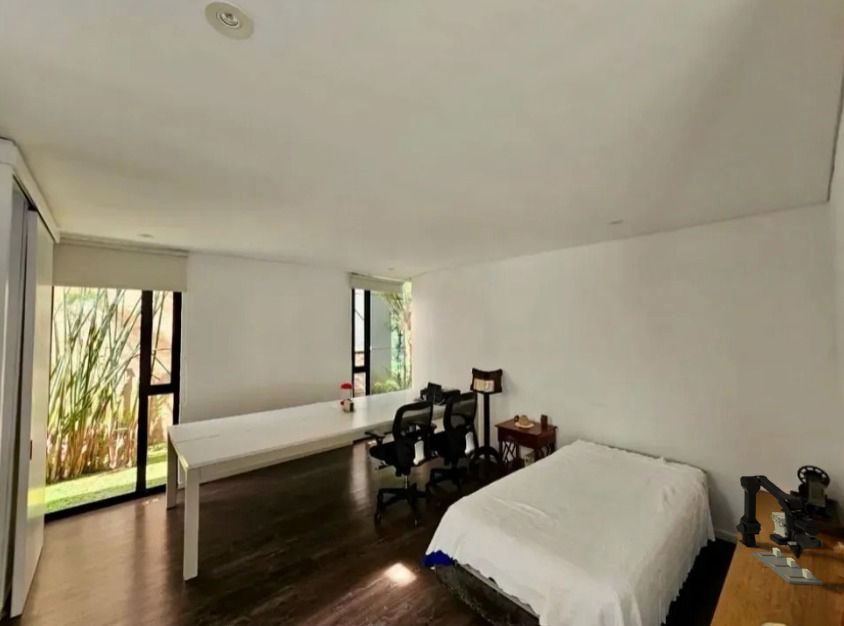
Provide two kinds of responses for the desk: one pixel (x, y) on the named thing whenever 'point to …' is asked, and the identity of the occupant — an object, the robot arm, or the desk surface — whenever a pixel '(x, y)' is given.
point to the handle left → (777, 552)
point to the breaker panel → (785, 569)
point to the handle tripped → (807, 574)
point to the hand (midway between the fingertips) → (797, 558)
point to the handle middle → (791, 562)
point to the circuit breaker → (780, 524)
